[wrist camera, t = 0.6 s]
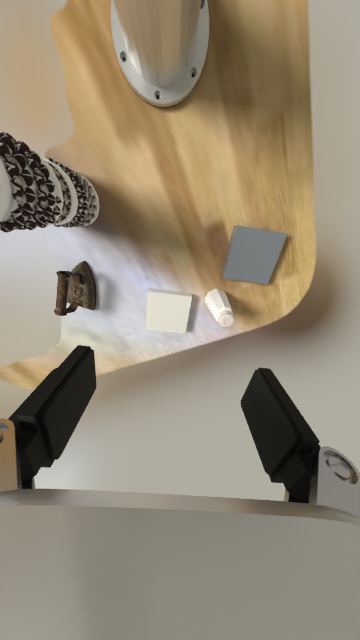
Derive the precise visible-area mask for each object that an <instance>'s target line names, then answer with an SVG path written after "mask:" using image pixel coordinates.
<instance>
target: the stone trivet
mask: <svg viewBox="0 0 360 640" xmlns="http://www.w3.org/2000/svg"><path fill="white" fill-rule="evenodd" d="M191 300H192V294H191V293H183V292H174V291H166V290H158V289H150V288H149V289H148V293H147V314H146V329H148V330H157V331H166V332H176V333H185V334H186V328H187V322H188V317H189V311H190V306H191Z"/></svg>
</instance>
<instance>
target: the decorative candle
mask: <svg viewBox="0 0 360 640" xmlns="http://www.w3.org/2000/svg"><path fill="white" fill-rule="evenodd" d="M99 209H100V206H99V198H98V195H97V193H96V191H95V189H94V186H93V185H92V184H91V183H90V182H89V181H88V180H87V178H86V177H84V176H82V175H80V173H78V172H75V171H74V170H72V169H70V168H68V167H66V166H65V165H62V164H61V163H59V162H54V161H53V160H52V159H51V158H46V159H45V158H43V157H41V156H40V155H39V153H37V152H35V151H33V150H32V149H30V148H29V147H28V146H27V145H26V144H25V143H24V142H21V141H18V142H16V140H15V139H14V138H13V137H12V136H11V135H9V134H8V133H5V132H2V133H0V230H2V231H4V232H10V231H12V230H15V229H19V230H20V229H22V230H24V229H29V230H33V229H34V228H36V227H41V228H44V227H46V226H48V225H51V224H53V225H54V226H56V227H60V226H62V227H83V226H87V225H90V224H92V223H93V222H94V221H95V219H96V218H97V217H98V213H99Z"/></svg>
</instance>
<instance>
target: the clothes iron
mask: <svg viewBox="0 0 360 640" xmlns="http://www.w3.org/2000/svg"><path fill="white" fill-rule="evenodd" d="M57 275H58V287H57V300H56V309H55V310H54V312H55V314H56V315H60V316H65V315H67V313H71V312H74V311H75V310H76V309H77V307H78V306H81V307H84V308H87V309H90V310H94V309H95V305H96V287H95V281H94V278H93V275H92V272H91V270H90V268H89V266H88V264H87V263H86V261H83V262H81V263H79V264H78V265H77V266H76V267H75V268H74V269H73V270H72V272H69V271H58V272H57ZM67 302H68V303H71V304H70V306H69V307H68V308H66V304H67Z"/></svg>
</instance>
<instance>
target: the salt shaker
mask: <svg viewBox="0 0 360 640" xmlns="http://www.w3.org/2000/svg"><path fill="white" fill-rule="evenodd" d="M205 302H206V304H207V307H208V308H209V310H210V312H211V313H212V315H213V316H214V318H215V319H216V321H218V322H219V323H220V325H221V326H222V327H230V326H232V325H233V323H234V317H233V312H232V309H231V307H230V304H229V301H228V299H227V296H226V294H225V291H222V290H220V289H217V288H216V289H214V290H212V291H209V292H208V294H207V296H206V298H205Z"/></svg>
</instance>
